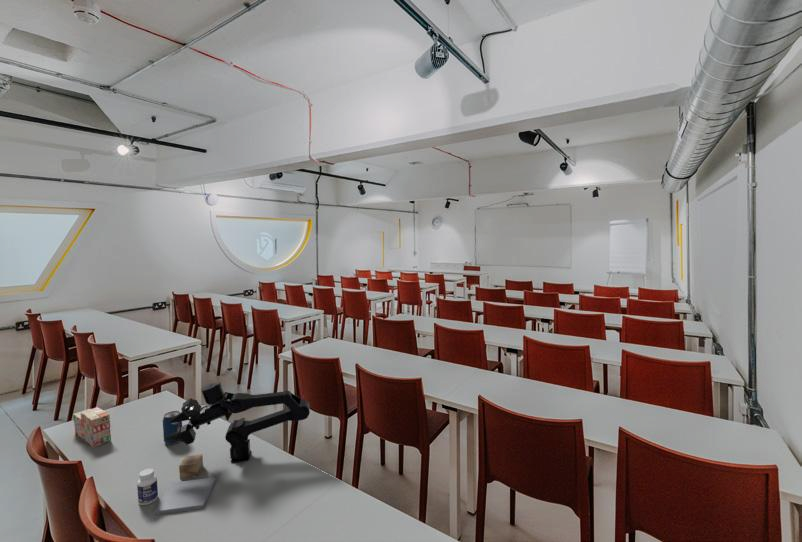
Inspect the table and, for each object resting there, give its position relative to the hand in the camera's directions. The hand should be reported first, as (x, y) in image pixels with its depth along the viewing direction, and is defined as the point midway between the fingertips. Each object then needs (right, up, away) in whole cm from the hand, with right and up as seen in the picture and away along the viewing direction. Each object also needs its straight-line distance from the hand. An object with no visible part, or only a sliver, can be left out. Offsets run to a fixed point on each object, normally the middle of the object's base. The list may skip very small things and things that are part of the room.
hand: (167, 430), depth 138 cm
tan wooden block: (+10, -15, -1) cm, 18 cm away
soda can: (-10, -14, +20) cm, 26 cm away
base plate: (+15, -16, -14) cm, 26 cm away
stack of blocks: (-48, -14, +24) cm, 55 cm away
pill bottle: (+4, -17, -16) cm, 23 cm away
